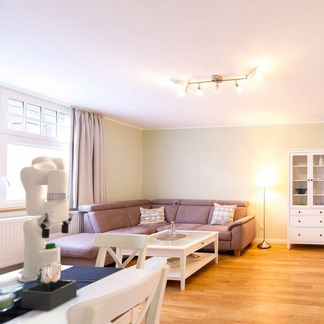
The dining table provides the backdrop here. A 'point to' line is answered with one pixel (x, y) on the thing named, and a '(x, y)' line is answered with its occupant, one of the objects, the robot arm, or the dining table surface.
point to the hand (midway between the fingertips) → (55, 235)
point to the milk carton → (47, 258)
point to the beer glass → (51, 276)
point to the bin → (48, 296)
